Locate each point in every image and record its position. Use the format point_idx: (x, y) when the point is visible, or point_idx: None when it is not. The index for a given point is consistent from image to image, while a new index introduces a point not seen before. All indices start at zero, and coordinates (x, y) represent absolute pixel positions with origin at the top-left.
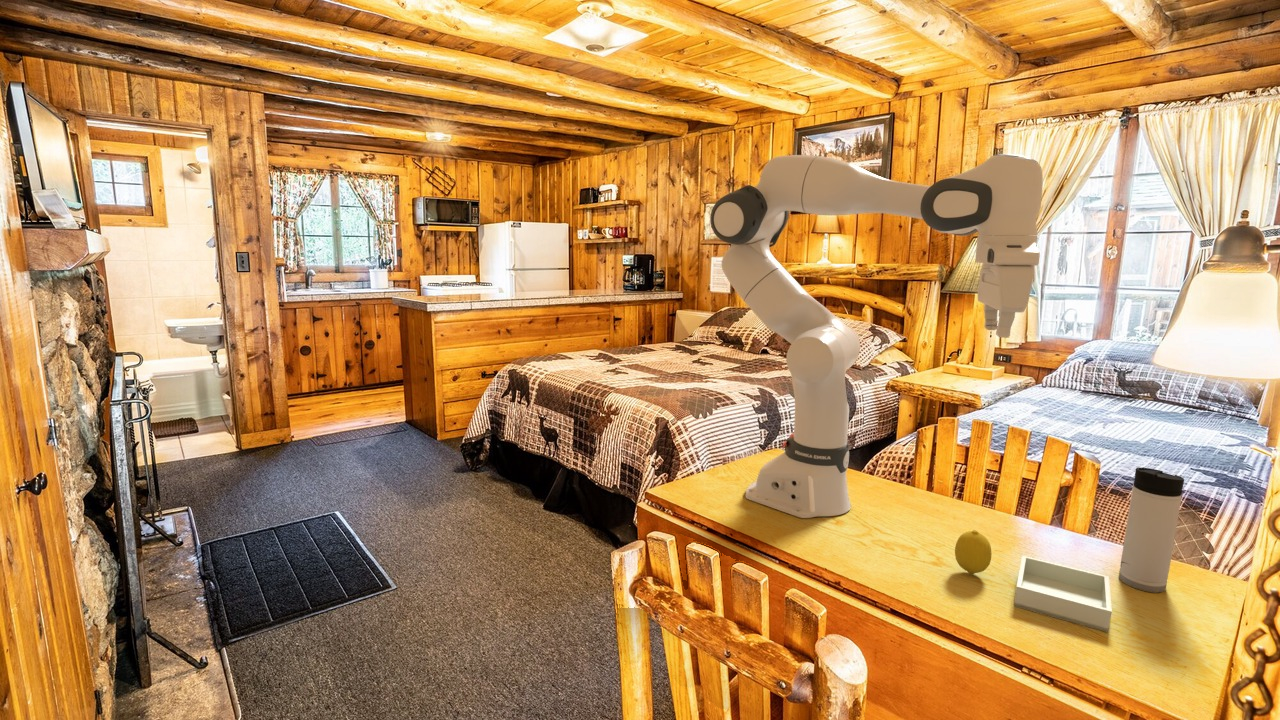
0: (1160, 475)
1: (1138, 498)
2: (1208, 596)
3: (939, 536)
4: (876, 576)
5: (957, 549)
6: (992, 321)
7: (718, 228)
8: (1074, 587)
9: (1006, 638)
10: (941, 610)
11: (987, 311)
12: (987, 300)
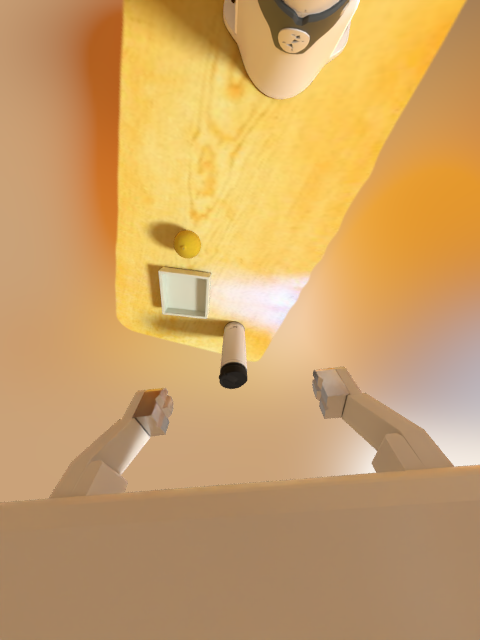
0: (234, 379)
1: (226, 358)
2: None
3: (247, 215)
4: (138, 161)
5: (179, 232)
6: (326, 405)
7: None
8: (204, 300)
9: (121, 260)
10: (124, 220)
11: (387, 430)
12: (249, 526)
